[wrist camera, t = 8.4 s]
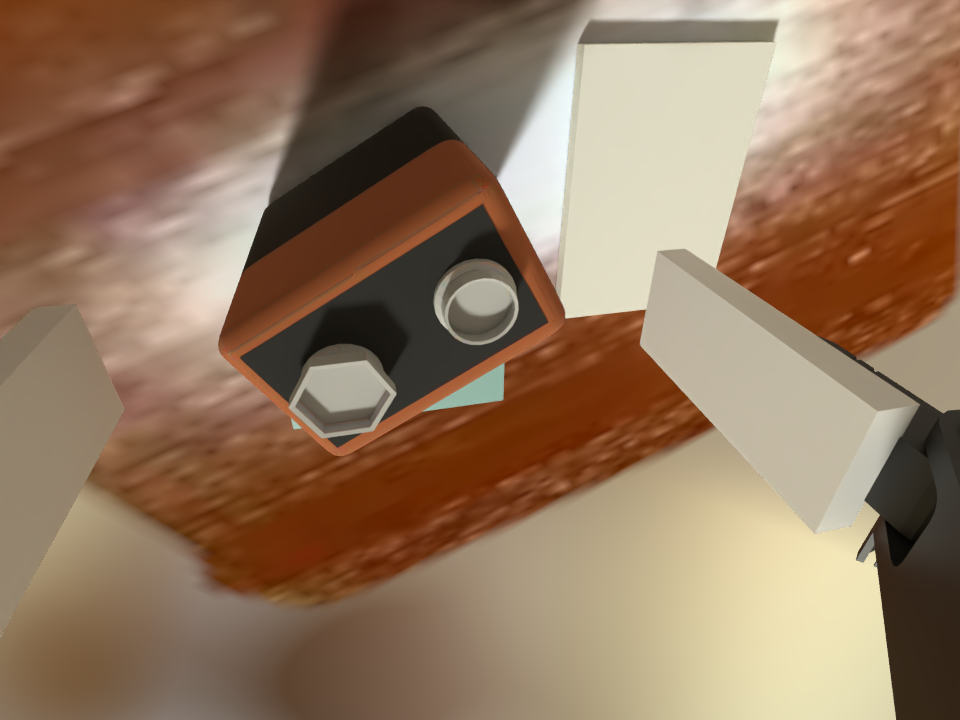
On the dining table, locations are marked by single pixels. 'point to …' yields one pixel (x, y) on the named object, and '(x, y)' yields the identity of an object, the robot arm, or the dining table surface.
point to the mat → (652, 162)
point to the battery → (386, 286)
